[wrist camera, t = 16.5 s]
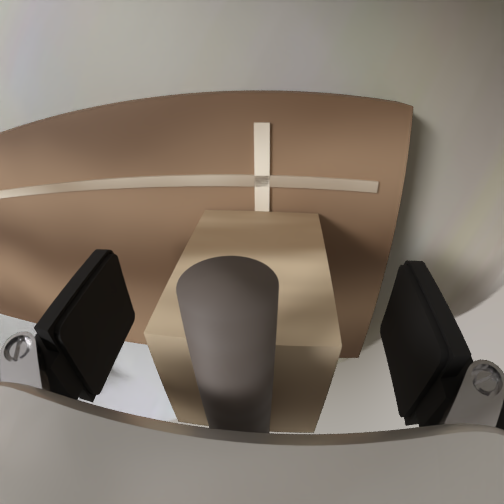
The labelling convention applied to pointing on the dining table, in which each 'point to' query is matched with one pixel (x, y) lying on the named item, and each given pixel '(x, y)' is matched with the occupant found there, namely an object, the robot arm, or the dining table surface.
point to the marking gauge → (248, 324)
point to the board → (199, 190)
